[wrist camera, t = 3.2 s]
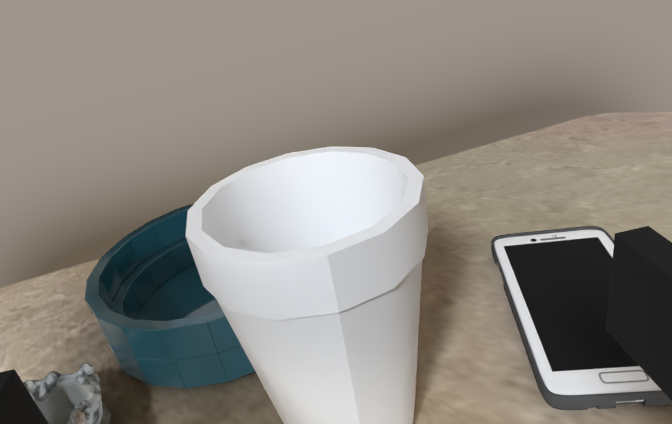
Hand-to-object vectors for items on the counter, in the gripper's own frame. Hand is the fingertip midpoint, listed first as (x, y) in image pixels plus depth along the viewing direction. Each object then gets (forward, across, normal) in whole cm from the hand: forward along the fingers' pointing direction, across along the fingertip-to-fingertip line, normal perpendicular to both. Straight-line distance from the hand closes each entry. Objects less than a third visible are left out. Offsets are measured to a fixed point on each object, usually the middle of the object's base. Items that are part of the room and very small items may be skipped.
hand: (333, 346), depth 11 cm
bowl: (+21, -7, -14) cm, 26 cm away
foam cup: (+10, 0, -14) cm, 17 cm away
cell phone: (+14, +14, -14) cm, 24 cm away
